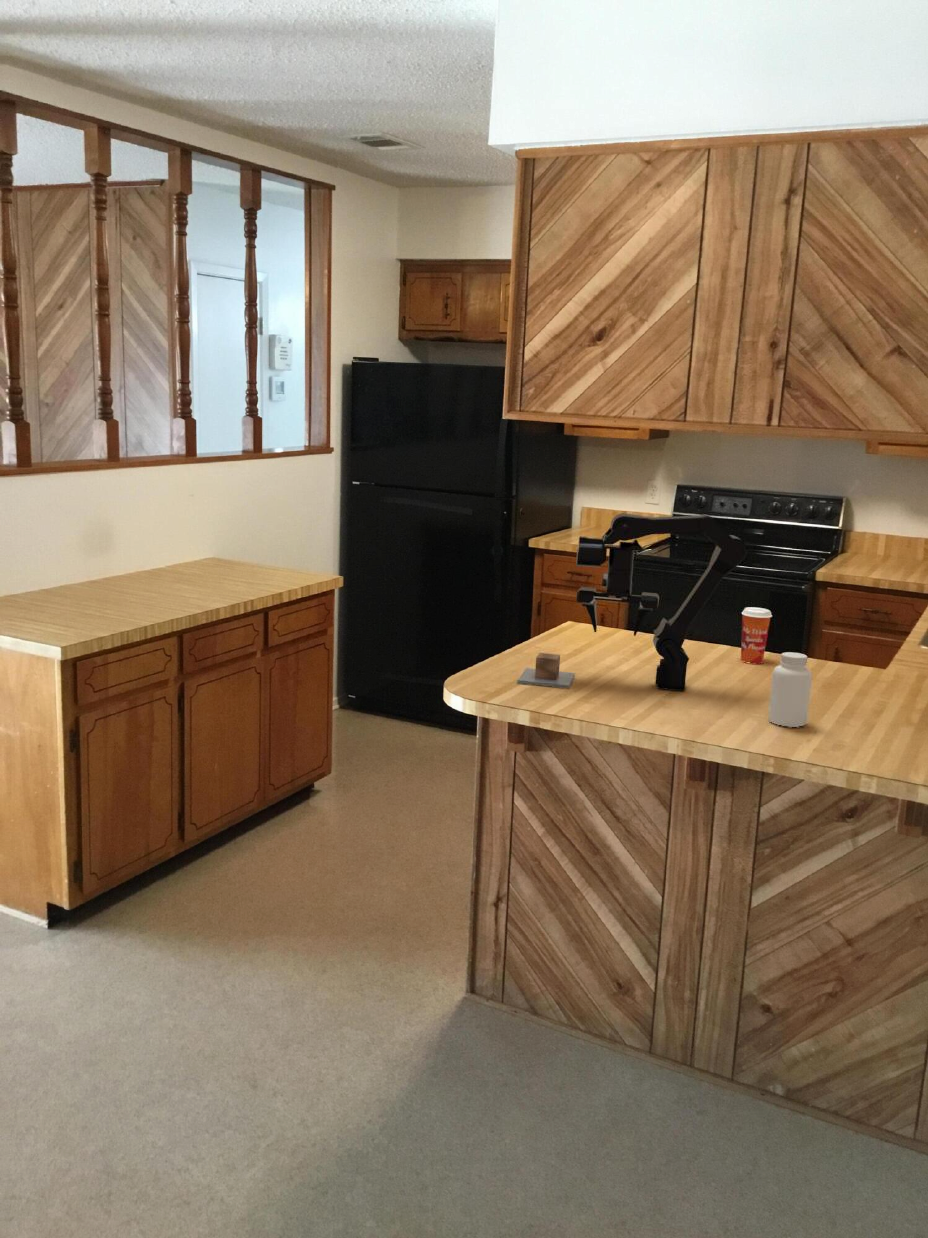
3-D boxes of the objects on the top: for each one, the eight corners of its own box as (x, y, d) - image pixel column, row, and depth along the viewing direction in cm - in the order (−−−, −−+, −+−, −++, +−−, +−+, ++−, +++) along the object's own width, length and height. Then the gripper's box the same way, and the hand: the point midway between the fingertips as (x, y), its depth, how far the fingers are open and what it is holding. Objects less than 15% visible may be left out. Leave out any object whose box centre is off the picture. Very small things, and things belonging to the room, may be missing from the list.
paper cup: (735, 663, 281) (741, 610, 278) (737, 656, 288) (742, 605, 285) (766, 666, 279) (772, 613, 276) (767, 660, 286) (773, 608, 283)
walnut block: (558, 675, 257) (560, 654, 256) (555, 680, 252) (557, 659, 251) (538, 672, 258) (539, 652, 257) (534, 678, 253) (536, 657, 252)
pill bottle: (776, 715, 235) (784, 648, 232) (812, 723, 231) (820, 655, 227) (761, 722, 229) (769, 654, 226) (797, 731, 224) (805, 661, 221)
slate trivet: (574, 676, 260) (575, 673, 259) (568, 688, 248) (569, 685, 248) (525, 671, 262) (526, 668, 262) (517, 683, 251) (517, 680, 250)
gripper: (662, 566, 255) (656, 630, 258) (583, 560, 259) (579, 623, 262) (660, 573, 244) (654, 640, 248) (578, 566, 248) (573, 632, 251)
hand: (615, 633), depth 252 cm, fingers open, 9 cm apart
